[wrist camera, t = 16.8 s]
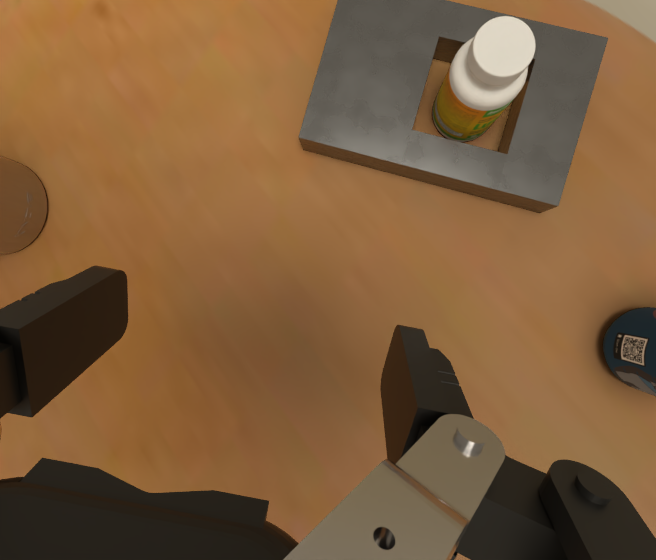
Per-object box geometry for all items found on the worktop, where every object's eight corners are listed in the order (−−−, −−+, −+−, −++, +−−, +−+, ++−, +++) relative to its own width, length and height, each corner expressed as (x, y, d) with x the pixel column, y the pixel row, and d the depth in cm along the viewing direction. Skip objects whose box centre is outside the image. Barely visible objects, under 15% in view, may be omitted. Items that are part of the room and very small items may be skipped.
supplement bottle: (464, 155, 34) (508, 104, 24) (418, 117, 34) (444, 52, 24) (505, 109, 34) (566, 39, 24) (459, 71, 34) (500, -13, 24)
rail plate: (303, 149, 35) (298, 137, 32) (345, 3, 35) (344, -23, 32) (539, 212, 33) (558, 206, 30) (585, 60, 33) (608, 37, 30)
